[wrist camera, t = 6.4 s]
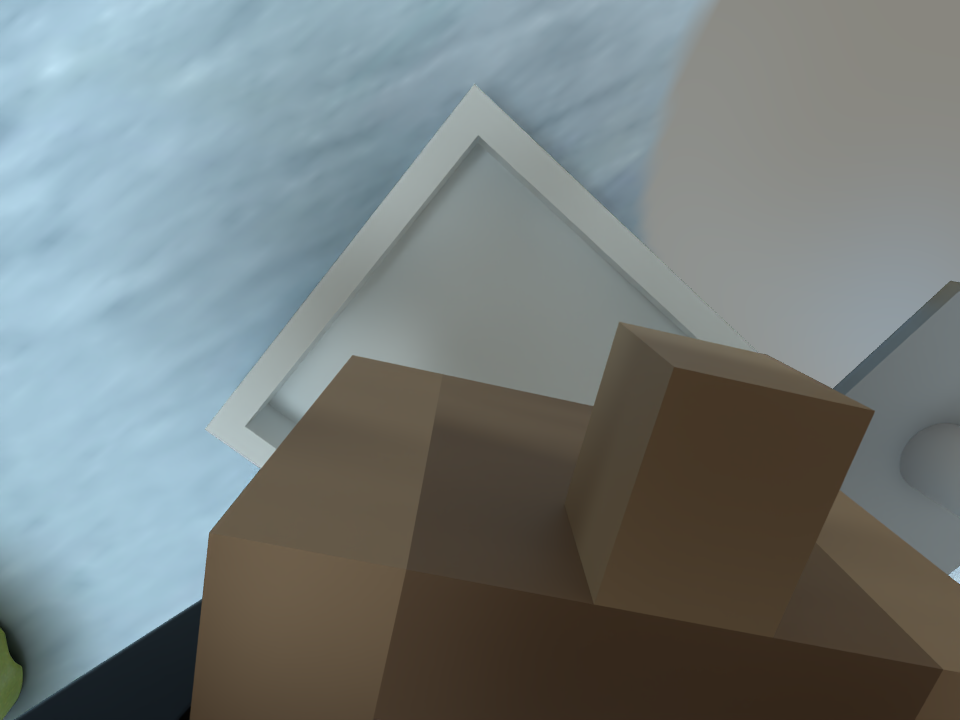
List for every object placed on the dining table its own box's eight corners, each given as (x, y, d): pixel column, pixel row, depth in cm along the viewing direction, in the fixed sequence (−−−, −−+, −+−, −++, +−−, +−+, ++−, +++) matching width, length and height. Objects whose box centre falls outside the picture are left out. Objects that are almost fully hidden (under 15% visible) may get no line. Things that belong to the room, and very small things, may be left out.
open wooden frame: (652, 768, 9) (779, 1179, 5) (292, 709, 9) (148, 1109, 5) (830, 336, 7) (1245, 493, 3) (373, 231, 7) (236, 271, 3)
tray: (751, 361, 17) (793, 385, 15) (509, 595, 20) (514, 647, 18) (474, 101, 15) (474, 83, 13) (239, 399, 18) (204, 429, 15)
